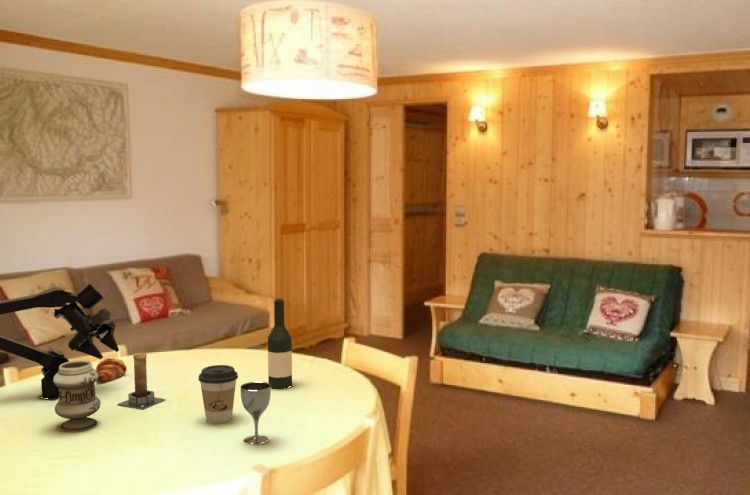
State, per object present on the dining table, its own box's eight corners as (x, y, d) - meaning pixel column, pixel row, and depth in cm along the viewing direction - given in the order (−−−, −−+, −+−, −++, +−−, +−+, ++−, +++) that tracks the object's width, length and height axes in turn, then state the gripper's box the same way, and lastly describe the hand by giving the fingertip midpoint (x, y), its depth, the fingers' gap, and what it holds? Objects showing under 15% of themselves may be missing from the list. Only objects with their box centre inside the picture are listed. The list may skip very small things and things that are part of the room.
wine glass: (257, 432, 198) (257, 379, 197) (277, 439, 193) (276, 385, 192) (235, 440, 192) (234, 386, 190) (255, 448, 187) (254, 392, 185)
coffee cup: (199, 427, 202) (198, 376, 200) (198, 414, 212) (197, 365, 211) (240, 424, 205) (239, 373, 203) (237, 411, 216) (236, 362, 214)
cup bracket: (142, 409, 217) (142, 400, 216) (117, 405, 221) (117, 396, 220) (165, 400, 226) (164, 391, 225) (140, 396, 230) (140, 387, 229)
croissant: (114, 376, 264) (103, 358, 263) (138, 364, 264) (127, 345, 263) (93, 393, 243) (81, 373, 242) (119, 379, 242) (107, 359, 242)
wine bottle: (288, 390, 236) (287, 301, 233) (264, 389, 237) (262, 300, 234) (295, 383, 244) (294, 296, 241) (272, 382, 246) (271, 295, 242)
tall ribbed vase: (132, 403, 222) (130, 355, 220) (138, 399, 225) (137, 352, 224) (143, 403, 221) (142, 356, 219) (150, 400, 225) (148, 353, 223)
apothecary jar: (56, 421, 207) (54, 360, 205) (101, 416, 211) (99, 356, 209) (54, 435, 195) (51, 371, 194) (101, 430, 200) (98, 367, 198)
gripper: (75, 307, 219) (109, 344, 218) (109, 297, 237) (141, 331, 236) (53, 331, 221) (87, 368, 220) (89, 319, 239) (120, 353, 238)
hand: (110, 354), depth 229 cm, fingers open, 9 cm apart
